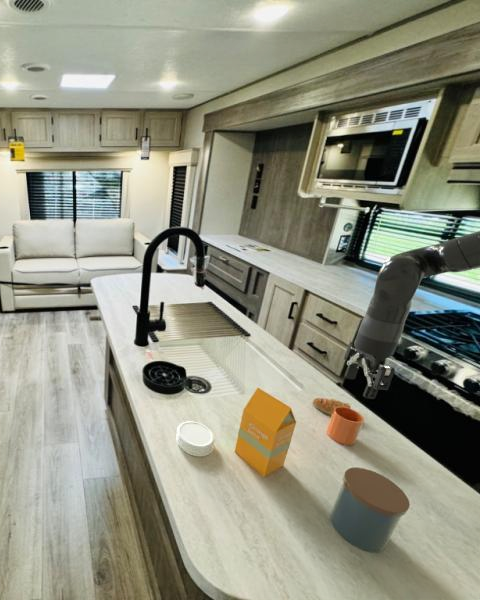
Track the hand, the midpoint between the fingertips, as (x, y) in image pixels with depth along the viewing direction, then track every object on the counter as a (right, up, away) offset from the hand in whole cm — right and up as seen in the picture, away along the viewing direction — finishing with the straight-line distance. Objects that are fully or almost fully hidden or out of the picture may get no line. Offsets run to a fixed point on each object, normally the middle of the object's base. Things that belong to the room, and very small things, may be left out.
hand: (358, 387), depth 83 cm
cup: (0, -16, +6) cm, 17 cm away
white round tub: (-42, -17, +5) cm, 46 cm away
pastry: (+6, -12, +16) cm, 21 cm away
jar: (-16, -25, -17) cm, 34 cm away
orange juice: (-27, -19, 0) cm, 33 cm away
